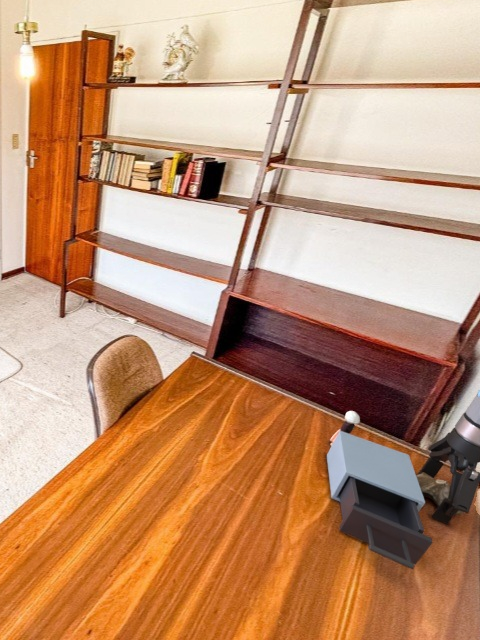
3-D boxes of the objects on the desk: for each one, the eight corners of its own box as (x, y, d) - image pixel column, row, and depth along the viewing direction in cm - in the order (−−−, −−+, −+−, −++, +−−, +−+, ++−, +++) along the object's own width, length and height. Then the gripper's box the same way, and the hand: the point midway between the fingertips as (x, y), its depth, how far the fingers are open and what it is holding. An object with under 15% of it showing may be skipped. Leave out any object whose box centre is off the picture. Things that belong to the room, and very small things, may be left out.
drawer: (423, 592, 80) (442, 569, 77) (342, 554, 86) (356, 532, 83) (400, 510, 96) (415, 489, 93) (333, 483, 102) (345, 462, 99)
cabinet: (406, 529, 93) (425, 502, 89) (331, 498, 99) (346, 471, 95) (392, 480, 105) (408, 454, 101) (326, 455, 112) (339, 430, 107)
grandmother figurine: (333, 435, 118) (349, 403, 113) (348, 443, 116) (366, 410, 110) (324, 448, 114) (341, 415, 108) (340, 456, 111) (358, 423, 106)
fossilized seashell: (476, 510, 95) (431, 479, 105) (471, 492, 93) (425, 462, 103) (448, 525, 95) (405, 492, 105) (443, 507, 94) (400, 476, 103)
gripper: (524, 486, 80) (469, 549, 89) (478, 411, 99) (436, 469, 108) (473, 468, 83) (425, 531, 92) (438, 399, 103) (401, 456, 112)
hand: (431, 498), depth 100 cm, fingers open, 13 cm apart
